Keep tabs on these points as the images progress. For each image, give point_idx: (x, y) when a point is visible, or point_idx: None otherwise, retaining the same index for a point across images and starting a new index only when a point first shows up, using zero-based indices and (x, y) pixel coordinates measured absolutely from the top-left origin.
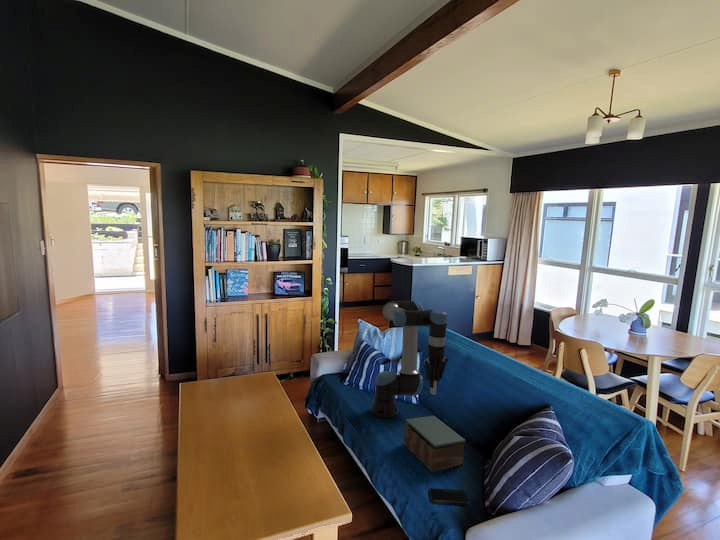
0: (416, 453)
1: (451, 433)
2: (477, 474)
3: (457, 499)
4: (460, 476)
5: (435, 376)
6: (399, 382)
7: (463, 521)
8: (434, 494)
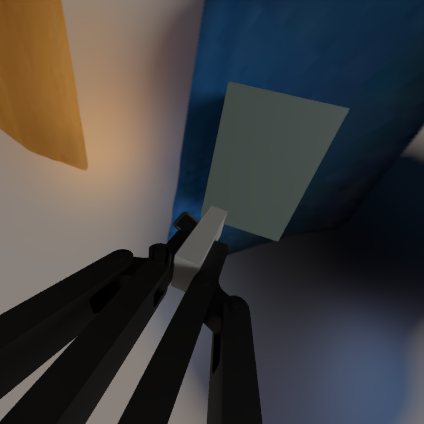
0: None
1: (277, 210)
2: (269, 239)
3: None
4: None
5: (197, 298)
6: None
7: None
8: (183, 221)
